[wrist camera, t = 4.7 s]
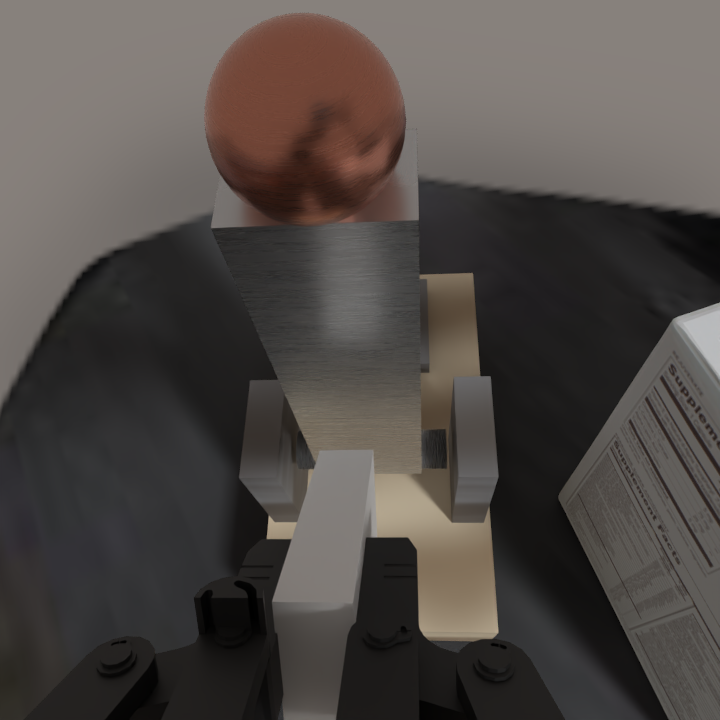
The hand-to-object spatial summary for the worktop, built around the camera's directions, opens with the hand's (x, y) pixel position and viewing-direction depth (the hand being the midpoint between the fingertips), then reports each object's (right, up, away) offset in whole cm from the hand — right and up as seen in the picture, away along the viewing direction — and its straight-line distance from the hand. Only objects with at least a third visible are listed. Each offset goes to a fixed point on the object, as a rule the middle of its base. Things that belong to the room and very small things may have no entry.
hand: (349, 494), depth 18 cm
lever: (+1, +1, +9) cm, 9 cm away
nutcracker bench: (+2, -1, +16) cm, 17 cm away
